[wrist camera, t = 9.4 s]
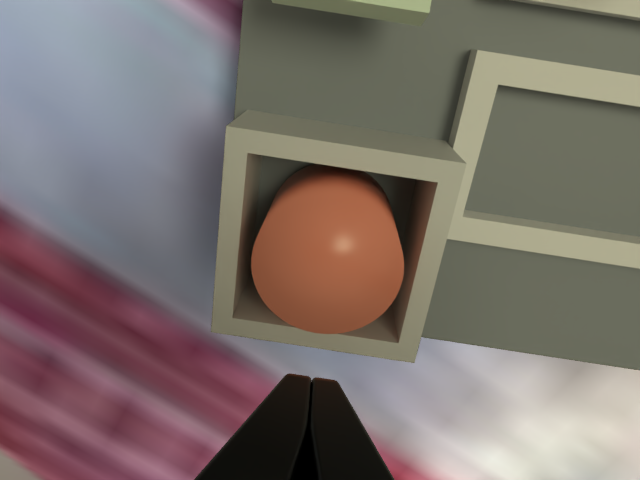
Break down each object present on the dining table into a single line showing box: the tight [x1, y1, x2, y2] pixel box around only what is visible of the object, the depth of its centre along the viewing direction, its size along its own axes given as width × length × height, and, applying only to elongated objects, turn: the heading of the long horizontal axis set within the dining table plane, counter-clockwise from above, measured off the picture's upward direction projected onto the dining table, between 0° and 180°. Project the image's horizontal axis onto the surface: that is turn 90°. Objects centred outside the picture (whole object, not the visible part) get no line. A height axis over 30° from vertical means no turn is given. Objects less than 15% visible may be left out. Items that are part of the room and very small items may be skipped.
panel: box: [211, 0, 640, 370], centre depth 14 cm, size 18×21×5 cm
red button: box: [251, 164, 404, 334], centre depth 15 cm, size 4×4×4 cm
